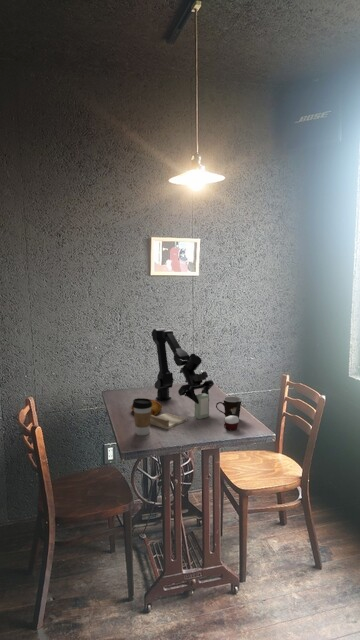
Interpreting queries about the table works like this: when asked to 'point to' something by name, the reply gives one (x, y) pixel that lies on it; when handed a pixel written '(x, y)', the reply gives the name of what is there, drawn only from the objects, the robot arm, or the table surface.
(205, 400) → the sage green box
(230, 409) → the coffee mug
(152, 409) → the croissant
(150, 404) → the coffee cup
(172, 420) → the ledge board
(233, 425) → the cocoa
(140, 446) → the table surface
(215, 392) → the table surface
